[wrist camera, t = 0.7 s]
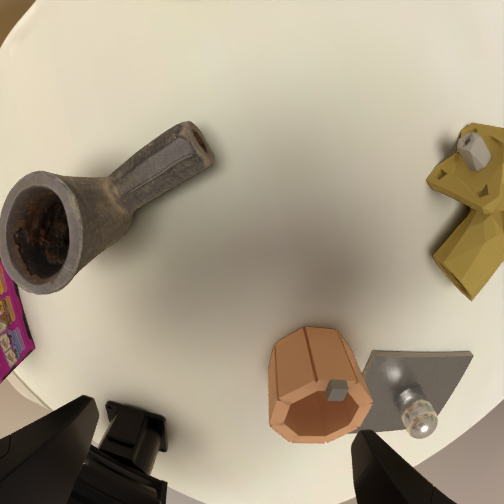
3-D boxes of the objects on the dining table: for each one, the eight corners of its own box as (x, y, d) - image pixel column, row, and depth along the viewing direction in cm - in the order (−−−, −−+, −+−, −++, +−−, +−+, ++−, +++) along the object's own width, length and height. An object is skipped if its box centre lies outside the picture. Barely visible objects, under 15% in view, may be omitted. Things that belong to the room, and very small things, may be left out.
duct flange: (428, 421, 24) (445, 455, 19) (335, 428, 24) (345, 473, 19) (469, 351, 22) (499, 384, 16) (372, 350, 21) (396, 397, 16)
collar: (335, 391, 23) (351, 450, 16) (263, 386, 23) (263, 449, 16) (359, 331, 21) (389, 388, 14) (279, 322, 21) (284, 385, 14)
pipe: (231, 181, 18) (209, 193, 11) (90, 269, 20) (27, 315, 13) (186, 102, 17) (137, 66, 9) (55, 203, 19) (-18, 225, 11)
